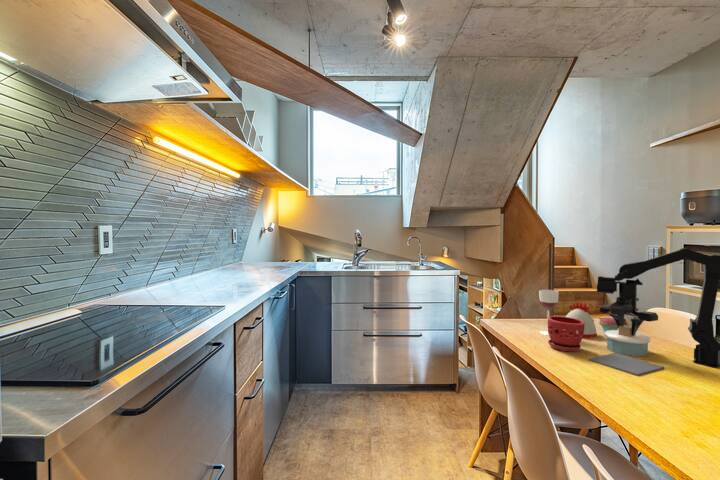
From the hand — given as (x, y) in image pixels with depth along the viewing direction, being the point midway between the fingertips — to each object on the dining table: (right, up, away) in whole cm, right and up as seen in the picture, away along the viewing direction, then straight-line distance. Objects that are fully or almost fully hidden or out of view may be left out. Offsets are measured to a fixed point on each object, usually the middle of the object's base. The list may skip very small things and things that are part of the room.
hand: (627, 333), depth 144 cm
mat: (-12, -7, -15) cm, 20 cm away
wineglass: (-19, -6, +25) cm, 32 cm away
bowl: (0, -7, 0) cm, 7 cm away
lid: (0, -2, 0) cm, 2 cm away
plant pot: (-23, -7, +3) cm, 24 cm away
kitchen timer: (-4, -7, +24) cm, 26 cm away
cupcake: (+11, -7, +26) cm, 29 cm away
